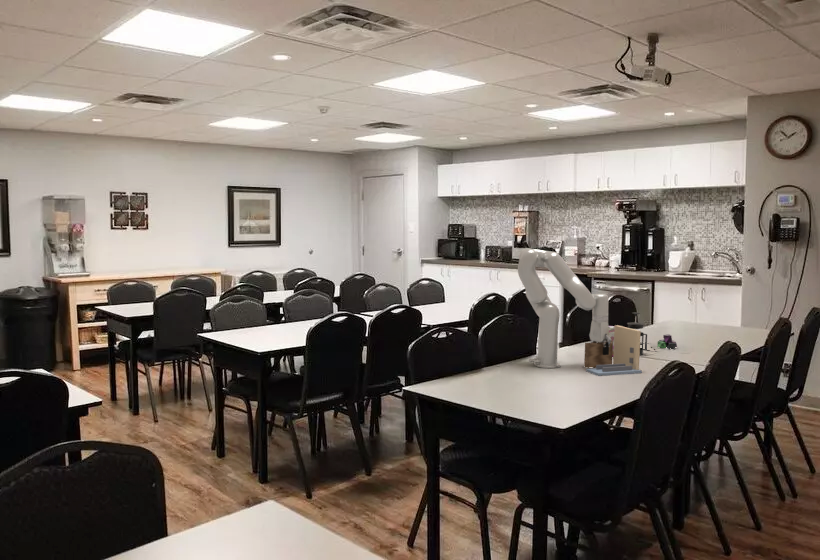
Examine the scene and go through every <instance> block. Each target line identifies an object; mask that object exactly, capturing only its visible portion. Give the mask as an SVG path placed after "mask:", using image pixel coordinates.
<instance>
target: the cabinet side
mask: <svg viewBox="0 0 820 560" xmlns="http://www.w3.org/2000/svg"><path fill="white" fill-rule="evenodd" d="M614 326H615V329H614V355H613V358H612V364H607V365H596V368H586V369H585V371H586V372H587V371H588V372H587V373H589V372H590V373H589V374H592V373H593V374H592V375H595V376H597V375H598V377H601V375H604V376H617V375H619V376H620V375H632V374H633V373H634V374H642V373H643V371H642V370H641V369H640V357H641V356H640V342H641V336H640V333H641V332H642V331H641V330H640V329H636V330H635V329H633V328H629V327H628V326H627V327H625V326H623V325H618V324H617V325H616V324H615V325H614ZM634 374H633V375H634Z"/></svg>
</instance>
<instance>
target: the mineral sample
mask: <svg viewBox="0 0 820 560" xmlns="http://www.w3.org/2000/svg"><path fill="white" fill-rule="evenodd" d="M662 338H663V339H659V340H658V341H657V348H658V347H661V348H660V349H664V348H666V347H667V348H671V349H674V350H675V349H676V348H675V347H677V348H678V345H677V342H676V341H675V339H674V340H673V336H672V335H671V334H669V333H668V334H663V337H662ZM671 349H670V350H671Z"/></svg>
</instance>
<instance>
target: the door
mask: <svg viewBox="0 0 820 560" xmlns="http://www.w3.org/2000/svg"><path fill="white" fill-rule="evenodd" d="M605 344H606V343H605ZM603 347H604V346H603V344H602V342H601V343H599V342H596V343H591V342H585V343H584V358H583V359H584V365H583V367H584V366H585V367H584V368H586V367H588V368H587V369H590V368H589V367H596V365H607V364H613V358H612V354H613V343H612V342H611V344H610V347H609V355H603Z"/></svg>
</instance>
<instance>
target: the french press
mask: <svg viewBox="0 0 820 560" xmlns="http://www.w3.org/2000/svg"><path fill="white" fill-rule="evenodd" d="M631 313H632V314H634V317H635V318H634V319H635V321H634V322H627V323H626V324H627V328H631V329H635V330H641V329H644V326H645V324H644V323H641V322H637V316H638V315H641V313H640V312H635V311H634V312H631ZM644 336H645V337H644ZM640 337H641V341H640V345H642V348H640V357H641V356H644V351H647V344H648V343H647V342H648V334H647V333H644V332H642V331H641V333H640ZM644 338H645V343H643V342H644ZM643 344H645V349H643Z"/></svg>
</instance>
